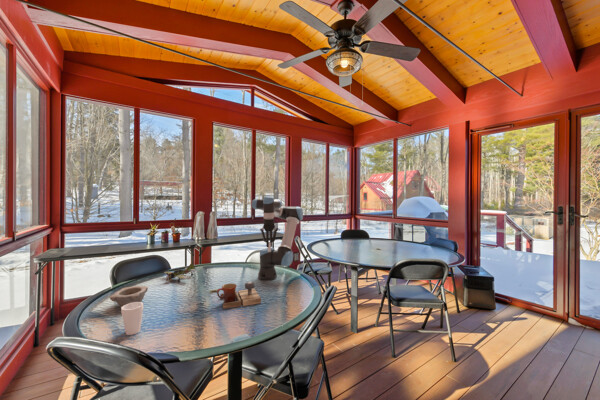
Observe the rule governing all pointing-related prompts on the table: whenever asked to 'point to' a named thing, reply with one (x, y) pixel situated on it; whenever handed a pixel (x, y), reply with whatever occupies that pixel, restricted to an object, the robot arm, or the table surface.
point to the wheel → (249, 285)
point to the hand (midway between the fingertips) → (269, 251)
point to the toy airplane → (180, 273)
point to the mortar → (129, 295)
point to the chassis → (243, 298)
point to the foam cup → (132, 317)
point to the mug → (228, 293)
